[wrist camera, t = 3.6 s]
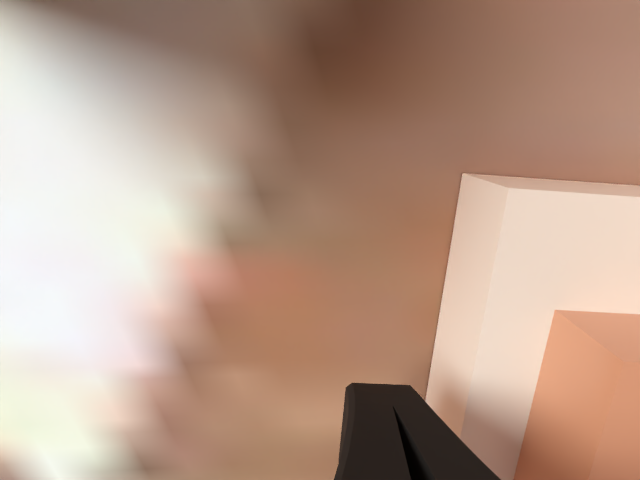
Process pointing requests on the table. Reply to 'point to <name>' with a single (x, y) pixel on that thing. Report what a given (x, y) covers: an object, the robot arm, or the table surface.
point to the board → (523, 296)
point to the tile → (586, 401)
